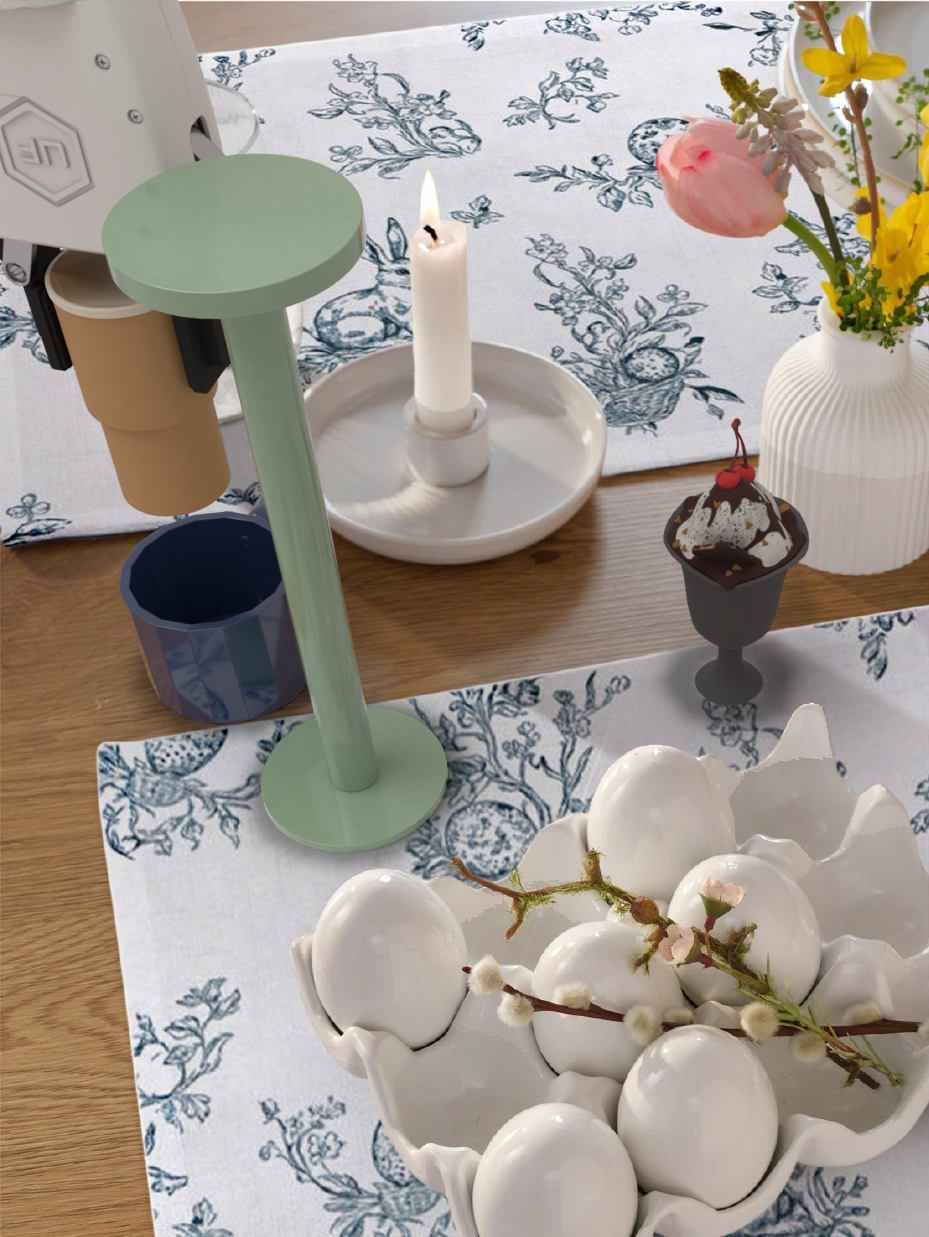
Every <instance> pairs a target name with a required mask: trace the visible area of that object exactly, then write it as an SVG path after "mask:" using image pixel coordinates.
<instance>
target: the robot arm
mask: <svg viewBox="0 0 929 1237" xmlns="http://www.w3.org/2000/svg"><path fill="white" fill-rule="evenodd" d="M220 156H226V155H225V154H224V149H223V144H222V139H221V135H220V131H219V127H218V124H217V119H216V115H215V111H214V106H213V103H212V99H211V96H210V93H209V89H208V86H207V83H206V79H205V76H204V71H203V69H202V65H201V62H200V59H199V55H198V53H197V49H196V46H195V43H194V41H193V38H192V34H191V32H190V29H189V25H188V24H187V20H186V17H185V14H184V12H183V9H182V8H181V4H180V2H179V0H0V261H1V262H2V263H1V264H2V266H1V267H2V272H3V274H4V276H5V277H6V279H7V280H8V281H9V282H10V283H12V284H13V285H15V286H18V287H22V288H23V291H24V294H25V297H26V300H27V303H28V306H29V309H30V312H31V315H32V319H33V322H34V324H35V328H36V330H37V334H38V336H39V337H40V338H41V341H42V345H43V348H44V350H45V354H46V357H47V360H48V363H49V366H50V368H51V369H52V370H56V371H61V372H67V371H68V370H69V369H71V368H72V367H73V363H72V360H71V357H70V354H69V351H68V347H67V344H66V341H65V338H64V335H63V331H62V328H61V325H60V322H59V319H58V315H57V312H56V309H55V306H54V303H53V301H52V300H51V298H50V297H49V294H48V292H47V289H46V285H45V274H46V271H47V269H48V267H49V265H50V263H51V262H52V261H53V260H54V259H55V258H56V257H57V256H58V255H59V254H60V253H61V252H62V251H64V250H65V249H70V250H77V251H83V252H90V253H97V254H104V251H103V246H102V242H101V237H102V229H103V225H104V222H105V220H106V218H107V216H108V214H109V213H110V211H111V210H112V209H113V207H114V206H115V205H116V204H117V203H118V202H119V201H120V200H121V199H122V198H123V197H124V196H125V195H126V194H127V193H129V192H130V191H131V190H133V189H134V188H135V187H137V186H139V185H140V184H142V183H143V182H145V181H147V180H149V179H151V178H153V177H155V176H156V175H158V174H161V173H163V172H166V171H168V170H170V169H173V168H176V167H179V166H182V165H185V164H188V163H192V162H196V161H200V160H204V159H209V158H214V157H220ZM104 255H105V254H104ZM172 320H173V324H174V328H175V332H176V336H177V340H178V344H179V348H180V352H181V356H182V360H183V364H184V368H185V372H186V376H187V380H188V384H189V387H190V388H192V390H193V391H194V392H196V393H202V394H208V393H209V391H210V390H211V388H212V387H213V386H214V384H215V383H216V381H217V380H218V381H219V379H220V377H221V376H222V374H223V373H224V372H225V370H226V369H227V368H229V367H230V366H231V363H230V358H229V354H228V350H227V346H226V342H225V337H224V333H223V329H222V325H221V321H220V319H199V318H189V317H181V316H176V315H172Z"/></svg>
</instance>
